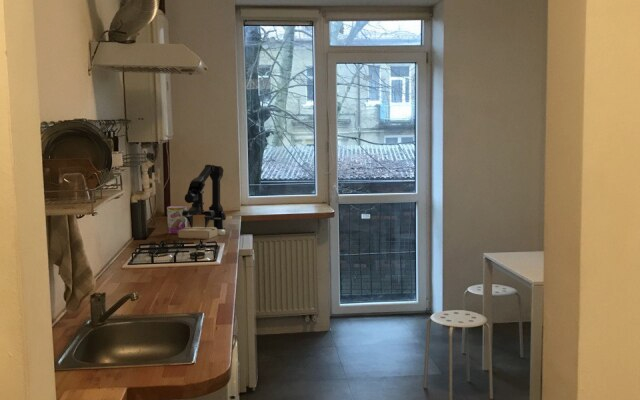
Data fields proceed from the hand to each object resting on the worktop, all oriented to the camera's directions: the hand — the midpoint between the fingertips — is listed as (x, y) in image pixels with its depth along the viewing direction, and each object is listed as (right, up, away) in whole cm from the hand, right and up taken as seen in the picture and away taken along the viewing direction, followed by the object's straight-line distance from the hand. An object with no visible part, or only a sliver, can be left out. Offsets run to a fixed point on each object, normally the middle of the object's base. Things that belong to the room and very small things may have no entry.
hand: (198, 227), depth 396 cm
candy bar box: (-15, -4, +13) cm, 20 cm away
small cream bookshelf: (0, -5, -1) cm, 5 cm away
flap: (0, -1, +2) cm, 2 cm away
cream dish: (+11, -4, +6) cm, 13 cm away
